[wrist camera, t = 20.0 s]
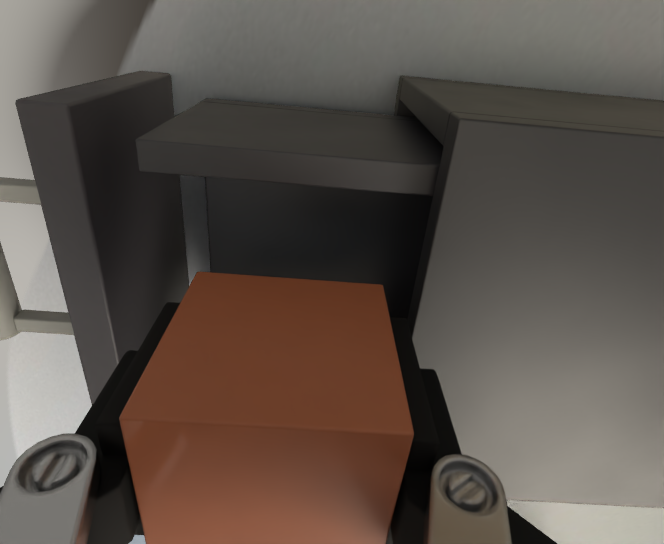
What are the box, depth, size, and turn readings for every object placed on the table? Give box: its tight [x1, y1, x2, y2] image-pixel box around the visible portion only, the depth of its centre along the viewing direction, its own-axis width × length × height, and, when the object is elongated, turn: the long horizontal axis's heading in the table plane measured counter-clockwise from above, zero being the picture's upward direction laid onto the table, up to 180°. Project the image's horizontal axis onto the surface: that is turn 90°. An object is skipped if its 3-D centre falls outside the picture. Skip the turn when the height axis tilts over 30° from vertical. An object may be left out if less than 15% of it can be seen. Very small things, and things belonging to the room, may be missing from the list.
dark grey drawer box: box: [394, 76, 664, 508], centre depth 16 cm, size 15×13×9 cm
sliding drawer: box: [0, 71, 444, 405], centre depth 16 cm, size 18×11×7 cm, turn 85°
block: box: [119, 272, 414, 544], centre depth 10 cm, size 5×5×5 cm
